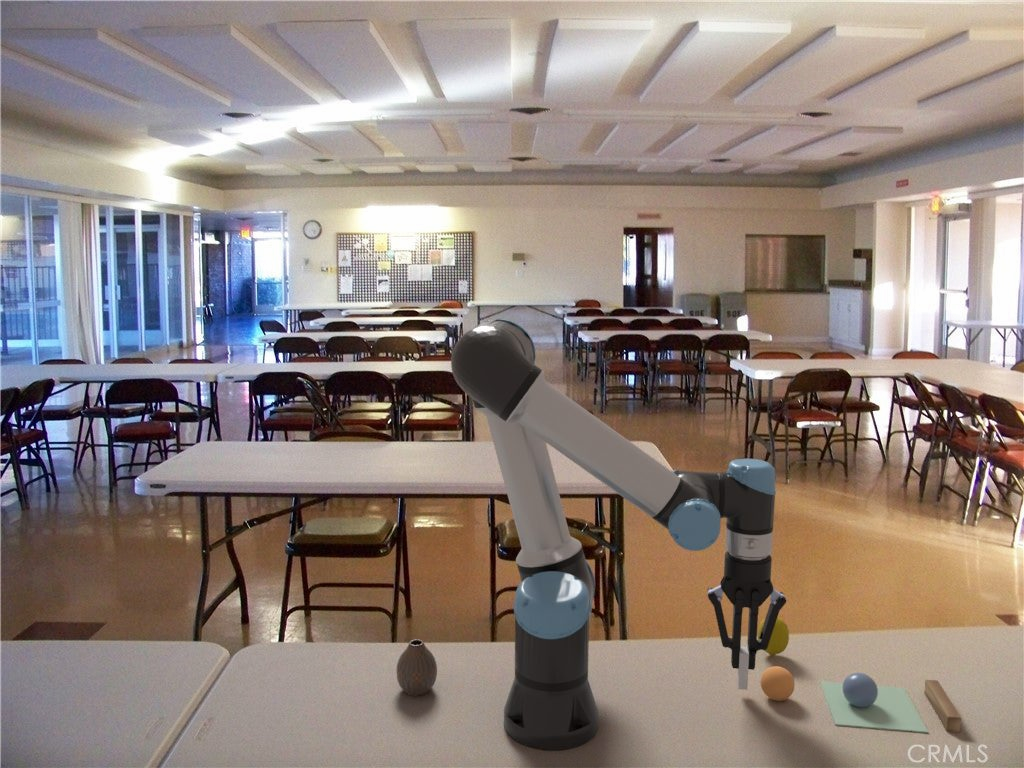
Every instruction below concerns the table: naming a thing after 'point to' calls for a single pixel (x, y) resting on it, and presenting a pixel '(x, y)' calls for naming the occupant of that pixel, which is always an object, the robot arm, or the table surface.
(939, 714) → the rail
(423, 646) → the vase
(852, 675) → the ball
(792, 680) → the ball
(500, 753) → the table surface
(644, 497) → the robot arm
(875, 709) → the mark
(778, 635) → the lemon
